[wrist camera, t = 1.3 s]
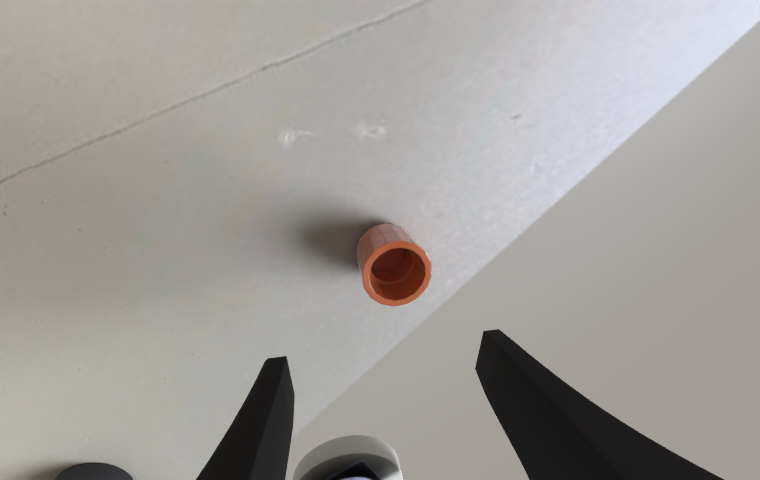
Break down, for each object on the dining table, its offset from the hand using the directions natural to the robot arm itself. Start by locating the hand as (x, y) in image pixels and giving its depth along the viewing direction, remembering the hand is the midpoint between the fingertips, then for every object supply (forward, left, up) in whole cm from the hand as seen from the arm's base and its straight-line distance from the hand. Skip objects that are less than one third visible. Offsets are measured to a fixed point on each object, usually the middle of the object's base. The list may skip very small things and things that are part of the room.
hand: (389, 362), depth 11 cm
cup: (0, -2, -10) cm, 10 cm away
